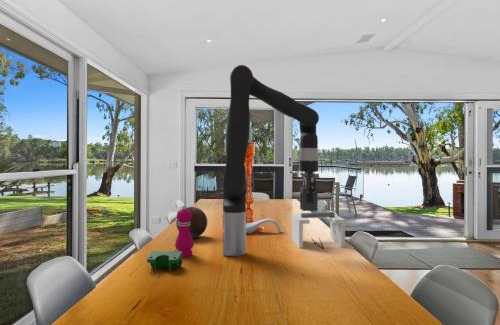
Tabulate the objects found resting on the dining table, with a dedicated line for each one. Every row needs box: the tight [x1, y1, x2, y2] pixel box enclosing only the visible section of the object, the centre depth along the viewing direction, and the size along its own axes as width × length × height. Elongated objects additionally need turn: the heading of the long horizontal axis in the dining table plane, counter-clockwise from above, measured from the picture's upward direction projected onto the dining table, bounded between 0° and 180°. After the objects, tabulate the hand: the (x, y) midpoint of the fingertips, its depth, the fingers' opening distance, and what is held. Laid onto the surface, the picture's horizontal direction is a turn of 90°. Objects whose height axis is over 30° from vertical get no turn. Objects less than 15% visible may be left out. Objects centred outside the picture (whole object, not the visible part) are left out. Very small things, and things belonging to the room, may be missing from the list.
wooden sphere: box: [175, 206, 208, 239], centre depth 189 cm, size 15×15×15 cm
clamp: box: [146, 250, 184, 272], centre depth 136 cm, size 12×6×9 cm, turn 80°
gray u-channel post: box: [299, 186, 319, 212], centre depth 157 cm, size 6×5×9 cm
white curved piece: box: [246, 218, 281, 235], centre depth 202 cm, size 24×12×7 cm, turn 89°
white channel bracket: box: [291, 212, 346, 249], centre depth 177 cm, size 20×18×14 cm
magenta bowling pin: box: [174, 205, 195, 258], centre depth 155 cm, size 7×7×20 cm
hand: (308, 201), depth 157 cm, fingers closed on gray u-channel post, 5 cm apart
